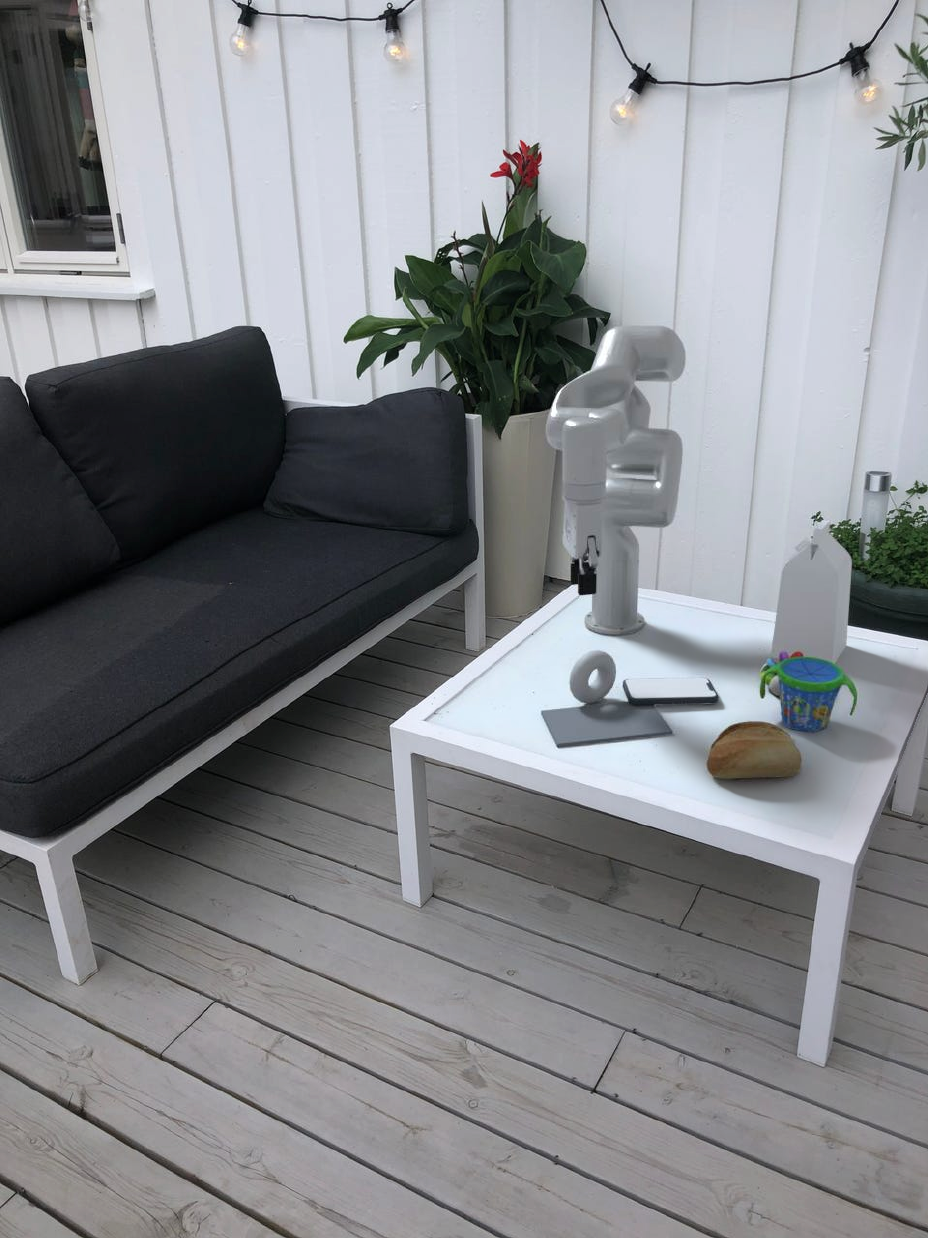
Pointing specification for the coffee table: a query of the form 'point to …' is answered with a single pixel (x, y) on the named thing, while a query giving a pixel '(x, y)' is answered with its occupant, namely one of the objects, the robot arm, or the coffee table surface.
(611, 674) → the donut
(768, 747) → the bread roll
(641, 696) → the smartphone
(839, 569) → the milk
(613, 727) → the mat
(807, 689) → the snack cup
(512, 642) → the coffee table surface
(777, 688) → the multicolored rounded-lobe toy
